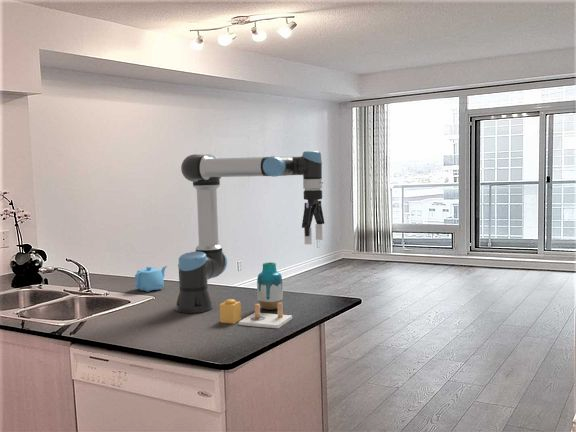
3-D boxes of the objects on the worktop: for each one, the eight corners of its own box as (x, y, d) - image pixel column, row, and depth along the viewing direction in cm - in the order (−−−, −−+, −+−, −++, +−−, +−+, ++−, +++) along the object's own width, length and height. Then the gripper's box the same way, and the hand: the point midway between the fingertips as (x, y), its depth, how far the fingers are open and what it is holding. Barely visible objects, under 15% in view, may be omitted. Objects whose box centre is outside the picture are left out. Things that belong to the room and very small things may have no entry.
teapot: (174, 288, 279) (174, 265, 278) (142, 294, 266) (141, 270, 265) (161, 284, 287) (160, 262, 286) (129, 290, 275) (128, 267, 274)
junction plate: (238, 324, 210) (238, 307, 210) (254, 315, 223) (254, 298, 222) (278, 328, 204) (277, 310, 204) (292, 318, 217) (291, 301, 217)
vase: (287, 307, 235) (286, 261, 233) (276, 313, 225) (275, 266, 224) (265, 305, 239) (263, 260, 238) (253, 311, 230) (251, 264, 228)
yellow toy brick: (220, 322, 214) (219, 301, 214) (227, 318, 220) (226, 298, 219) (234, 323, 212) (233, 302, 211) (241, 319, 218) (240, 299, 217)
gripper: (311, 191, 212) (312, 246, 214) (331, 188, 236) (331, 238, 237) (292, 191, 215) (294, 246, 217) (314, 188, 238) (315, 237, 240)
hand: (313, 242), depth 227 cm, fingers open, 13 cm apart
